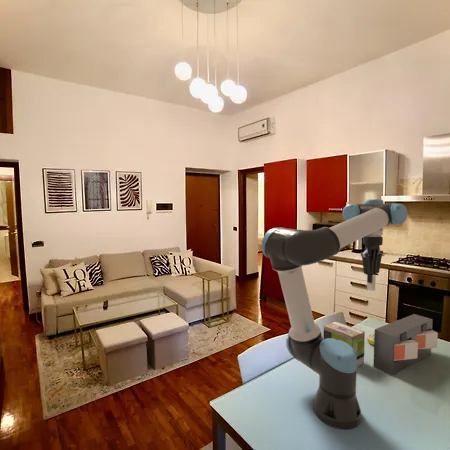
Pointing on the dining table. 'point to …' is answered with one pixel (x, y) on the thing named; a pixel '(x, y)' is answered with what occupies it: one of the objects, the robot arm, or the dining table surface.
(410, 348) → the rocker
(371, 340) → the decorated donut
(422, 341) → the rocker
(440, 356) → the dining table surface
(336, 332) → the tea box
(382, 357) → the grey panel with openings
